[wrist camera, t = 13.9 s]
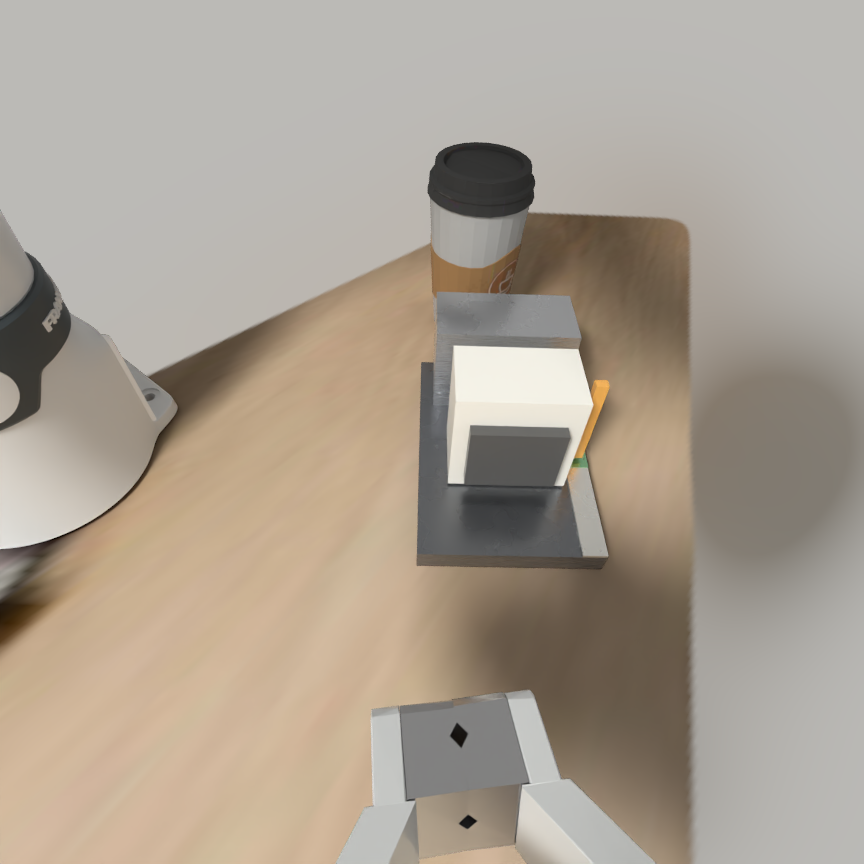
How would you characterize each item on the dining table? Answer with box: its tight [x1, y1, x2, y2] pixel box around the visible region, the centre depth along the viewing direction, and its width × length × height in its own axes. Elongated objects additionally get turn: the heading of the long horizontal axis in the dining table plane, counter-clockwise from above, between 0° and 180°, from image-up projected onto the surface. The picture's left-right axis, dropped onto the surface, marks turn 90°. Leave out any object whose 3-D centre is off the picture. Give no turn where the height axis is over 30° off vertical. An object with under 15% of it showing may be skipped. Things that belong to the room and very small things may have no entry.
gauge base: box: [417, 292, 609, 569], centre depth 38 cm, size 18×12×8 cm, turn 0°
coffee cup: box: [428, 142, 535, 321], centre depth 46 cm, size 8×8×15 cm
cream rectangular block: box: [447, 346, 610, 487], centre depth 36 cm, size 6×10×8 cm, turn 90°
